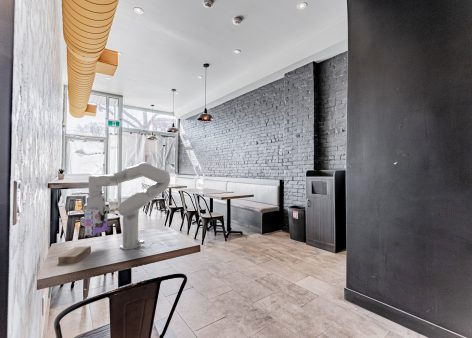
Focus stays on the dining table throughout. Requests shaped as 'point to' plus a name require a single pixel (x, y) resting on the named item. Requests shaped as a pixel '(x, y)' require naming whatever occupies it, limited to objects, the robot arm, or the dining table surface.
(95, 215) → the candy box
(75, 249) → the walnut plinth
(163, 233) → the dining table surface
